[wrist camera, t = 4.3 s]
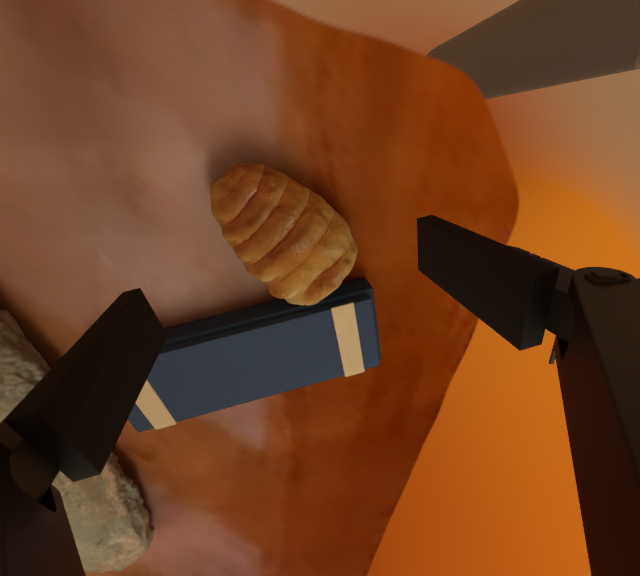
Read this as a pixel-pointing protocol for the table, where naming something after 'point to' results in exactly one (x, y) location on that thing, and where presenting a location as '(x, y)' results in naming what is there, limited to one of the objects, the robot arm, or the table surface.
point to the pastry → (283, 232)
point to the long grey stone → (88, 494)
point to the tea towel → (258, 355)
